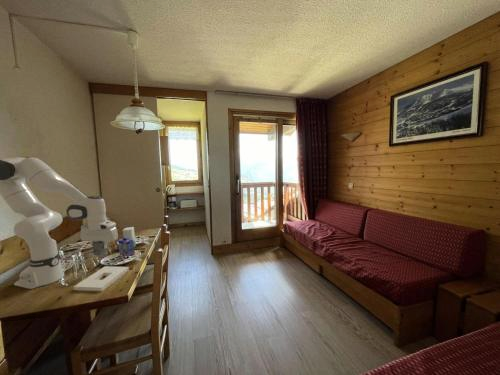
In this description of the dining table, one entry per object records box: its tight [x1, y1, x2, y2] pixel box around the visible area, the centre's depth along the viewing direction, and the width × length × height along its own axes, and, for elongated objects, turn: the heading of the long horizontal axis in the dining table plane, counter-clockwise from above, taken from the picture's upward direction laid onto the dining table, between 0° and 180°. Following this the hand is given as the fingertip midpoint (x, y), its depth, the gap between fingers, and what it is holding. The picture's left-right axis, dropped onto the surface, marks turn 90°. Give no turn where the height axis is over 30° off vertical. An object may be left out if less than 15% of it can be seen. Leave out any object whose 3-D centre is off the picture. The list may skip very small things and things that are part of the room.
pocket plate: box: [73, 265, 130, 292], centre depth 123 cm, size 16×22×2 cm
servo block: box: [90, 241, 110, 256], centre depth 121 cm, size 4×10×8 cm, turn 175°
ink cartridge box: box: [117, 236, 136, 258], centre depth 154 cm, size 10×6×14 cm, turn 67°
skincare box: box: [122, 226, 137, 248], centre depth 169 cm, size 8×7×16 cm
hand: (100, 247), depth 121 cm, fingers closed on servo block, 4 cm apart
